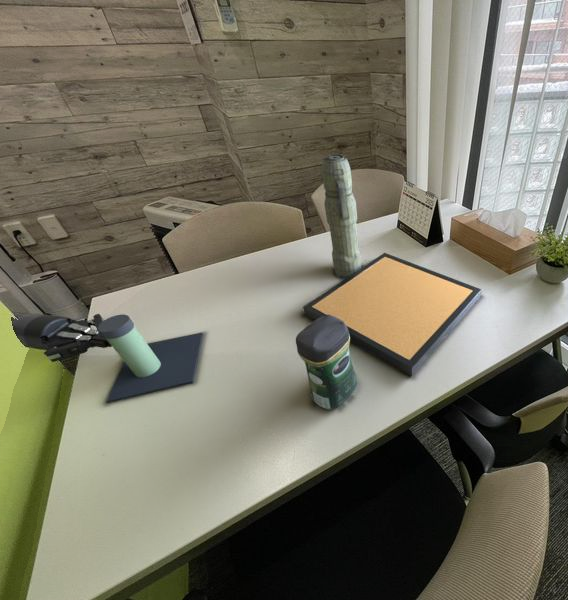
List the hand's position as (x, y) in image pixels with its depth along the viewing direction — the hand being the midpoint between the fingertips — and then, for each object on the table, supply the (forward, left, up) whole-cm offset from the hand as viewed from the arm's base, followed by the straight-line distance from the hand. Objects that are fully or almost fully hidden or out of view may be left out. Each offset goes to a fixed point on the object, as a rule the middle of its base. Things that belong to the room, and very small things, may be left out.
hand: (112, 341), depth 69 cm
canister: (+4, -2, -8) cm, 9 cm away
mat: (+6, -1, -8) cm, 10 cm away
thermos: (+55, +24, -9) cm, 60 cm away
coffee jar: (+43, -21, -9) cm, 49 cm away
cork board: (+64, +2, -9) cm, 65 cm away
